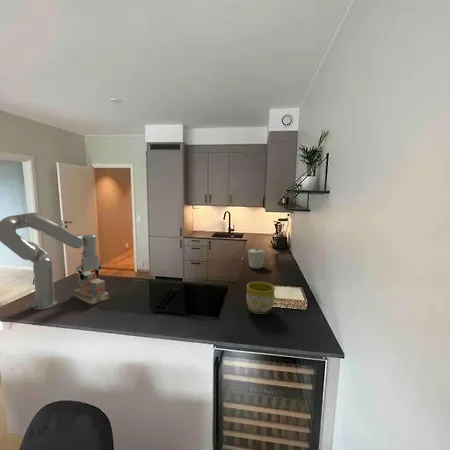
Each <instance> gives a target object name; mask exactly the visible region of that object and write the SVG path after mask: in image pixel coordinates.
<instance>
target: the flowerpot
mask: <svg viewBox="0 0 450 450" xmlns="http://www.w3.org/2000/svg"><path fill="white" fill-rule="evenodd" d="M275 290H276V288H275V286H274V285H273V284H271V283H270V282H265V281H252V282H248V283H247V284H246V295H245V297H246V298H245V300H246V304H247V306H248V310H249V311H251V312H250V313H252V312H253V311H254V312H253V313H256V312H258V313H256V314H265V313H264V312H267V311H269V310H270V309H271V310H272V308H273V306H274V304H275V303H274V302H275ZM252 310H253V311H252ZM253 313H252V314H253ZM256 314H255V315H256Z"/></svg>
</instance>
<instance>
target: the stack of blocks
mask: <svg viewBox="0 0 450 450" xmlns="http://www.w3.org/2000/svg"><path fill="white" fill-rule="evenodd" d="M83 274H84V280H81V279H80V273H78V272H77V283H78V285H77V286H78V287H77V288H78V289H79V290H80V291H83V292H85V293H88V294H91V295H93V296H95V297H98V296H101V295H104V294H105V292H106V280H103V279H100V278H98V277H97V274H95V272H91V271H85V272H84V273H83Z"/></svg>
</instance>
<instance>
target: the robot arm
mask: <svg viewBox="0 0 450 450" xmlns="http://www.w3.org/2000/svg"><path fill="white" fill-rule="evenodd" d="M25 228H31V229H32V230H35V231H36V232H37V231H38V232H39V233H42V234H44V235H46V236H49V237H50V238H51V239H54V240H56V241H59V242H60V243H63V245H67V246H68V247H71V248H74V249H80V248H82V252H81V255H82V256H81V259H80V260H81V261H80V265H79V266H77V267H75V271H76V272H77V274H78V273H80V279H81V280H84V274H83V273H84V272H85V271H88V272H91V271H94V273H95V274H97V278H98V277H99V275H100V273H99V271H100V270H101V269H102V266H103V263H101V262H99V256H98V253H97V252H96V251H97V237H96V235H94V234H73V233H72V232H70V231H68V230H66V229H65V228H64V227H62V226H61V225H60V224H58V223H56V222H54V221H51V220H50V219H47V218H46V217H44V216H42V215H41V214H39V213H38V212H30V213H29V212H28V213H22V214H16V215H9V216H6V217H4V218H2V219H1V220H0V242H1V244H3V246H6V247H7V248H8V249H10V251H12V252H13V253H15V255H17V256H18V257H19V258H21V259H22V260H24V261H30V262H31V263H33V264H32V269H33V278H34V279H33V280H34V293H35V299H33V301H32V302H28V303H26V304H25V305H26V308H28V307H29V308H32V309H34V310H36V311H37V310H42V311H43V310H47V309H51V308H53V307H55V306H57V304H58V300H57V299H55V289H54V284H55V283H54V269H53V268H54V264H53V257H52V256H51V255H50V254H49V253H48V252H47V251H45V250H44V249H43V248H42V247H41V246H39V245H38V244H37V243H35V242H33V241H27V240H26V239H24V238H23V237H22V236H21V235H19V234H18V233H17V230H19V229H25Z"/></svg>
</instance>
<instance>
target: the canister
mask: <svg viewBox="0 0 450 450" xmlns="http://www.w3.org/2000/svg"><path fill="white" fill-rule="evenodd" d="M247 255H248V265H249V267H250V268H251V269H254V270H255V269H256V270H258V269H261V268H263V267H264V261H265V255H266V251H265V250H264V249H261V248H260V249H259V246H255V248H251V249H248V250H247Z"/></svg>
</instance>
